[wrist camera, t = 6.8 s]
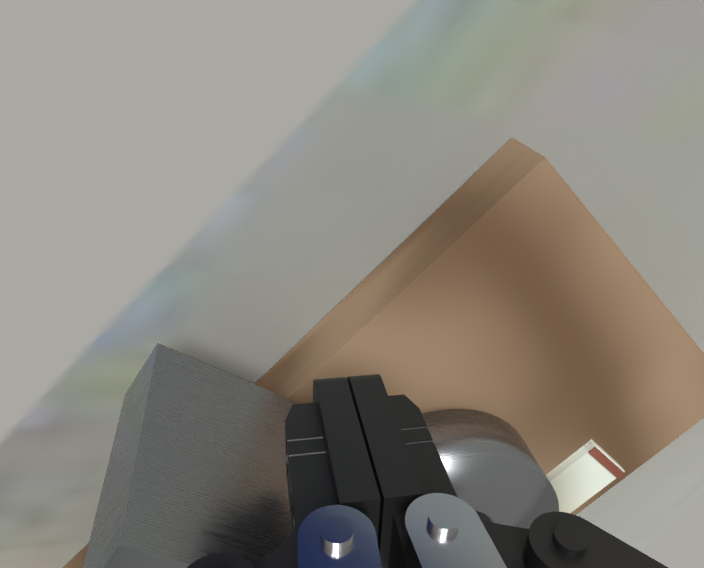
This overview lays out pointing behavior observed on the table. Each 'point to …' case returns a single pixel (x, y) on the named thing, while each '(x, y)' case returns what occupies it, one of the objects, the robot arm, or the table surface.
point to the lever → (259, 469)
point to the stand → (516, 330)
